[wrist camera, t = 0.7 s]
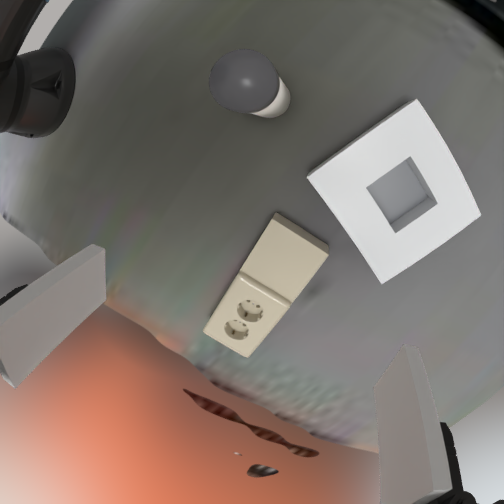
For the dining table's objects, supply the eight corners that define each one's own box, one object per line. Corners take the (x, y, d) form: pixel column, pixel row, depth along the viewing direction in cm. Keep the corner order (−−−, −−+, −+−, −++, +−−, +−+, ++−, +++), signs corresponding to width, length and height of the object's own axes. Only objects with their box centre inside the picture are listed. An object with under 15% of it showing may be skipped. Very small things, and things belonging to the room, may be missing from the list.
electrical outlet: (329, 258, 31) (247, 359, 38) (328, 244, 34) (253, 341, 42) (270, 221, 31) (200, 332, 38) (276, 211, 34) (211, 316, 42)
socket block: (308, 173, 31) (306, 177, 28) (407, 102, 26) (417, 98, 23) (376, 269, 34) (381, 284, 30) (467, 206, 28) (481, 215, 25)
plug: (239, 96, 30) (196, 79, 19) (272, 69, 28) (245, 37, 17) (266, 128, 31) (237, 125, 20) (301, 101, 29) (290, 82, 18)
